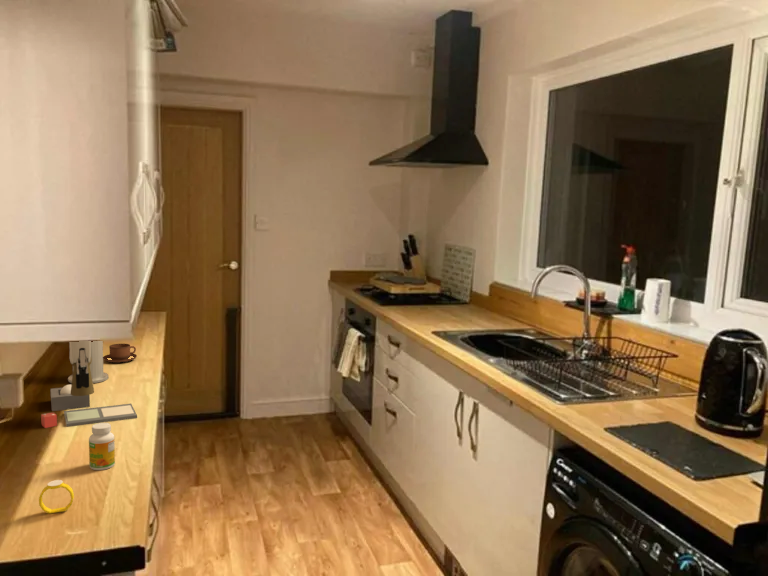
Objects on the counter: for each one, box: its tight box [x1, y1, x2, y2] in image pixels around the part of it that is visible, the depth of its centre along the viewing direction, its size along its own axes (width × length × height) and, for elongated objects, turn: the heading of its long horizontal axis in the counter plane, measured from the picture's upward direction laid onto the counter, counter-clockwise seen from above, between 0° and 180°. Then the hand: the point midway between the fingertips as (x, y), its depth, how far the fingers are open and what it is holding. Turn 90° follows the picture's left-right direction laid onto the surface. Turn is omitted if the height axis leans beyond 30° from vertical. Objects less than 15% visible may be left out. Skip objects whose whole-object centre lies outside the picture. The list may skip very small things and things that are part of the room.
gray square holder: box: [50, 387, 91, 412], centre depth 192 cm, size 10×10×4 cm
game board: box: [63, 403, 138, 428], centre depth 182 cm, size 12×18×1 cm, turn 119°
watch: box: [38, 479, 75, 515], centre depth 125 cm, size 6×3×6 cm, turn 109°
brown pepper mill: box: [71, 354, 95, 396], centre depth 178 cm, size 6×6×11 cm
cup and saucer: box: [103, 343, 137, 364], centre depth 246 cm, size 12×12×6 cm
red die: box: [40, 411, 58, 429], centre depth 173 cm, size 3×3×3 cm
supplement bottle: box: [88, 422, 116, 471], centre depth 147 cm, size 5×5×10 cm
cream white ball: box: [60, 383, 72, 395], centre depth 191 cm, size 5×5×5 cm
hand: (82, 384), depth 179 cm, fingers closed on brown pepper mill, 4 cm apart
